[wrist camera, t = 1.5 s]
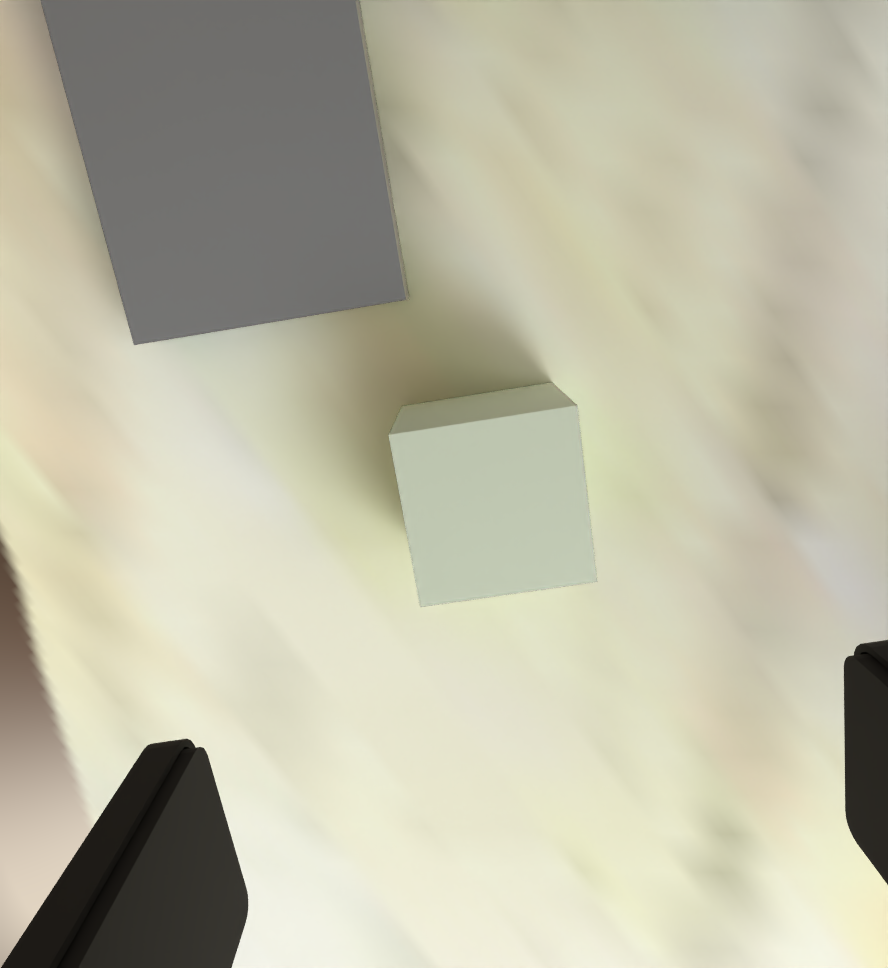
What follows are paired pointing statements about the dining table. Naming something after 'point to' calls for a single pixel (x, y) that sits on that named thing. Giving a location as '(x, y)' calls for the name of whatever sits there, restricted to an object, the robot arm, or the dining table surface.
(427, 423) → the block
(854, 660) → the robot arm
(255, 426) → the dining table surface
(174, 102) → the board
